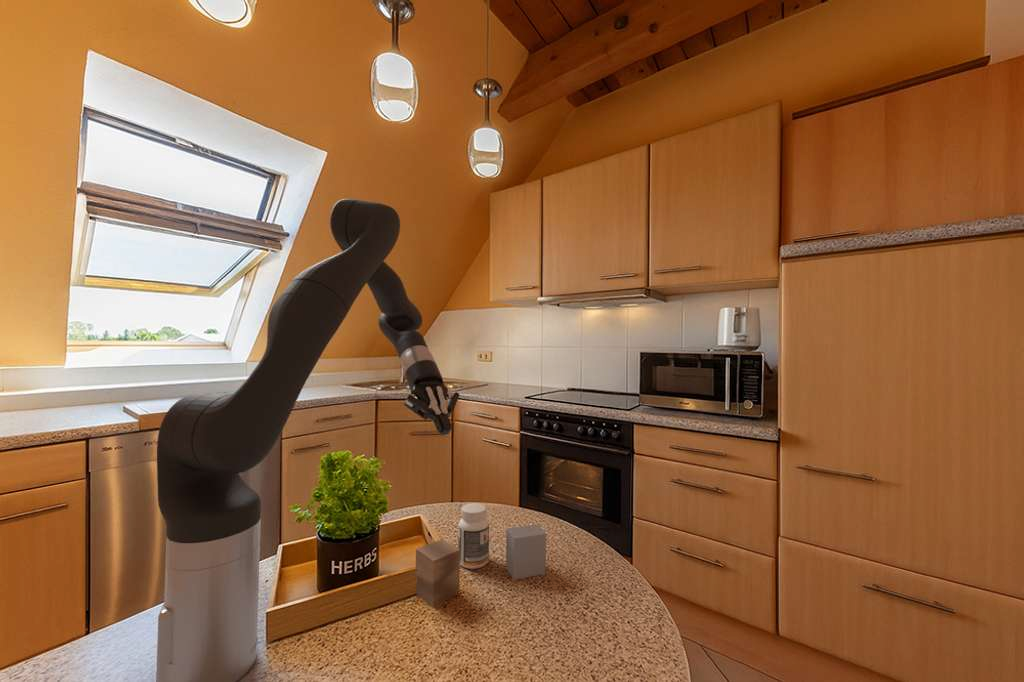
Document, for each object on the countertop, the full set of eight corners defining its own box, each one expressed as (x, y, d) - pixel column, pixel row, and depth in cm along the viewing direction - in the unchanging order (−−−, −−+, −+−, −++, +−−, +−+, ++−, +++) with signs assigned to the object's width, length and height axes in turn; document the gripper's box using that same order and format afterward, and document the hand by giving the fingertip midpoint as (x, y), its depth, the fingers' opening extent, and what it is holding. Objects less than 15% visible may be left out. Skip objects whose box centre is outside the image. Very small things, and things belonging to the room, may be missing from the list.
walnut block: (432, 607, 61) (433, 560, 61) (415, 592, 65) (416, 548, 65) (459, 593, 65) (459, 549, 65) (441, 580, 68) (441, 538, 68)
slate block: (513, 579, 69) (514, 538, 69) (505, 567, 73) (506, 528, 73) (545, 573, 71) (546, 533, 71) (536, 562, 75) (537, 524, 75)
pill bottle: (494, 559, 75) (495, 505, 75) (476, 573, 70) (477, 516, 71) (470, 551, 78) (471, 499, 78) (451, 564, 73) (452, 509, 74)
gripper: (398, 358, 86) (423, 425, 77) (451, 358, 95) (480, 418, 85) (387, 381, 90) (410, 447, 81) (440, 379, 99) (466, 438, 89)
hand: (446, 432), depth 83 cm, fingers closed
